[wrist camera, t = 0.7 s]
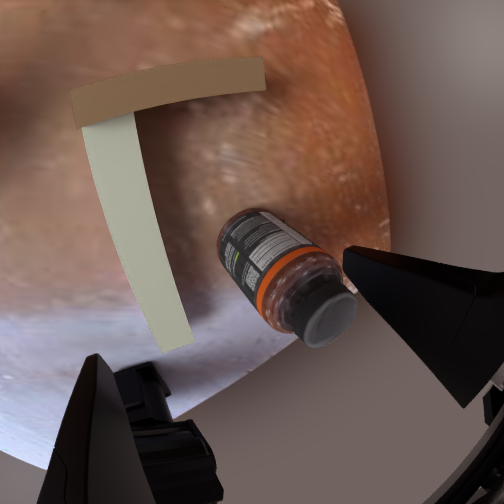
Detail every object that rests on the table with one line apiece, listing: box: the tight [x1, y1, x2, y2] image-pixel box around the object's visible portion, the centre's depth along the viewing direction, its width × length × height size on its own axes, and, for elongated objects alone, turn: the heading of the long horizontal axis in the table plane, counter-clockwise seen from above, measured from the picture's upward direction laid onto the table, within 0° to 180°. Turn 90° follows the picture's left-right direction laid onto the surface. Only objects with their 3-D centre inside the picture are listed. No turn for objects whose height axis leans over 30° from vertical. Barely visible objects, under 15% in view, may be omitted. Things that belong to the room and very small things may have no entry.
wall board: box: [70, 57, 266, 353], centre depth 18 cm, size 20×10×5 cm, turn 6°
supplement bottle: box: [217, 209, 358, 348], centre depth 20 cm, size 6×6×11 cm
